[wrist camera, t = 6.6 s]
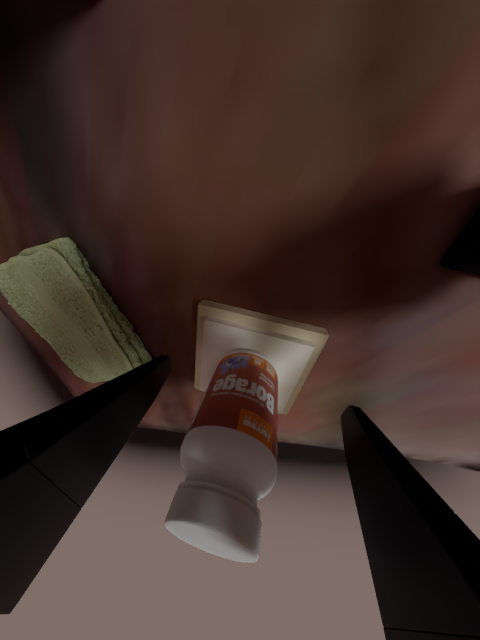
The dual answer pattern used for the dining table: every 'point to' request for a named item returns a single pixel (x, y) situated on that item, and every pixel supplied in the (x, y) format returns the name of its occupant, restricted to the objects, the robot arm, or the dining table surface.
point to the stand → (257, 345)
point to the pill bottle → (229, 460)
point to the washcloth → (71, 310)
